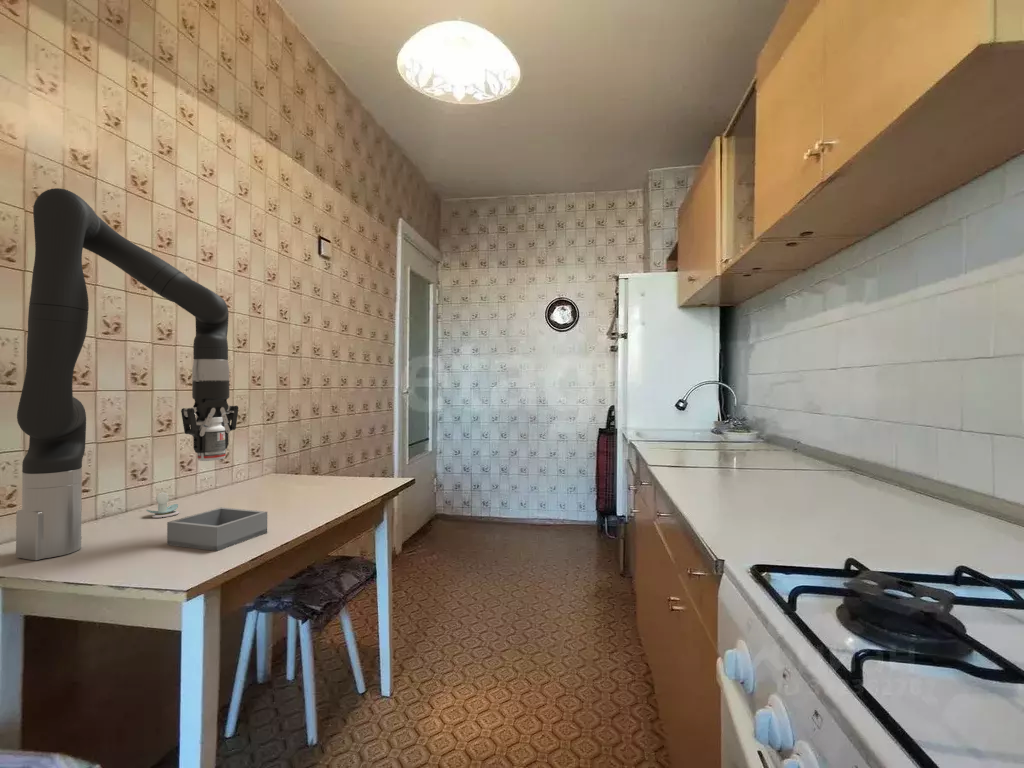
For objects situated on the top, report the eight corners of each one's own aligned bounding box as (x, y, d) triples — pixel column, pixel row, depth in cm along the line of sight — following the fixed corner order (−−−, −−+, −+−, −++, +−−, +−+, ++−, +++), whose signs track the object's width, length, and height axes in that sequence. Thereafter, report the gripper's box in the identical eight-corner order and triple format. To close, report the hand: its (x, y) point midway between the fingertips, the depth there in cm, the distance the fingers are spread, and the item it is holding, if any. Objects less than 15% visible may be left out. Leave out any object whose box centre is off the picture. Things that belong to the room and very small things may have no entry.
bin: (217, 551, 106) (217, 527, 106) (167, 544, 110) (167, 522, 110) (267, 532, 119) (267, 511, 119) (221, 527, 123) (221, 507, 123)
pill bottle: (230, 457, 120) (230, 416, 120) (215, 461, 115) (214, 418, 115) (208, 457, 121) (208, 416, 121) (191, 461, 115) (191, 418, 115)
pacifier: (184, 514, 137) (173, 511, 140) (185, 492, 137) (173, 489, 140) (154, 521, 130) (143, 517, 133) (155, 497, 130) (143, 493, 133)
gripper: (223, 379, 126) (223, 446, 126) (170, 379, 112) (170, 454, 112) (247, 379, 124) (248, 447, 124) (196, 378, 110) (197, 455, 110)
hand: (211, 450), depth 118 cm, fingers closed on pill bottle, 5 cm apart
